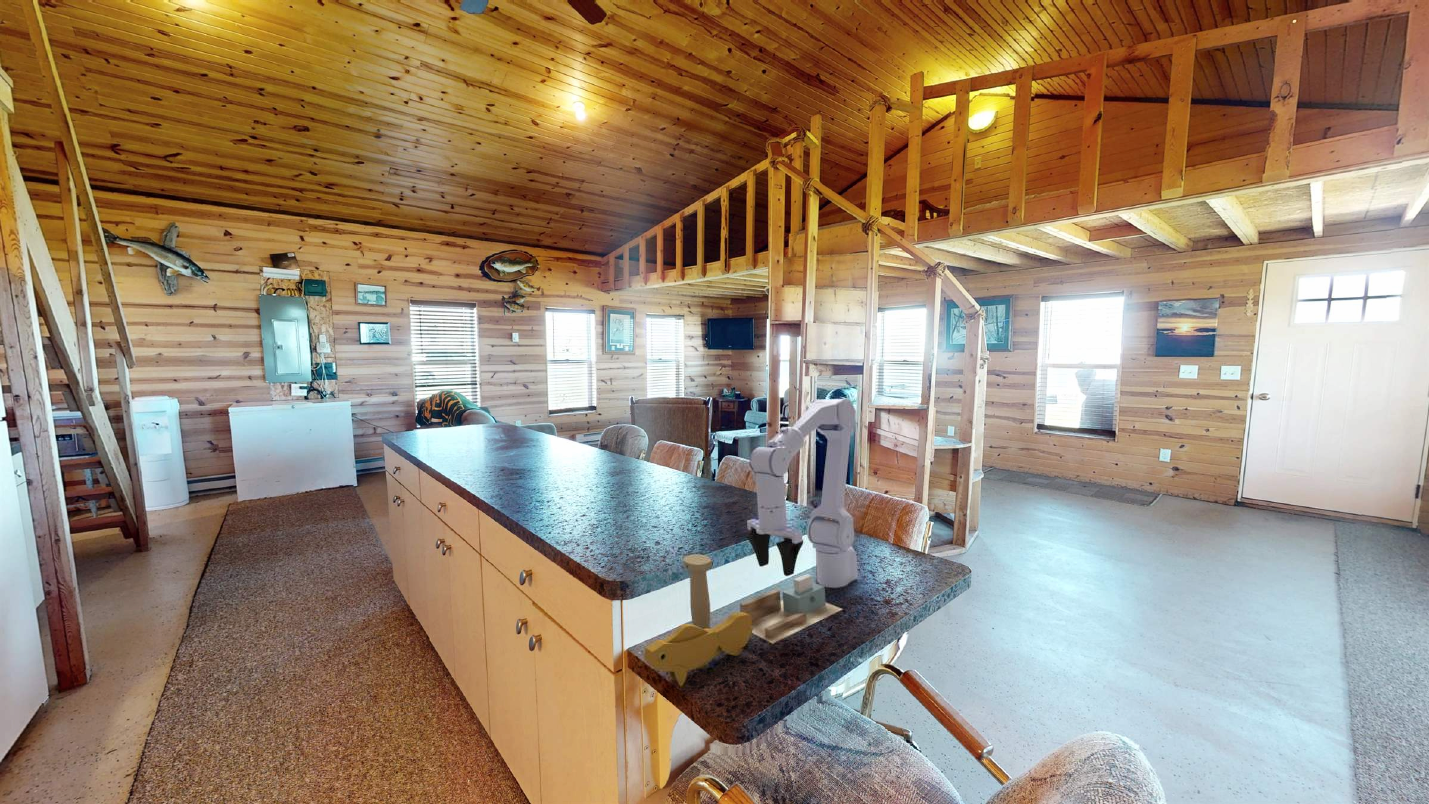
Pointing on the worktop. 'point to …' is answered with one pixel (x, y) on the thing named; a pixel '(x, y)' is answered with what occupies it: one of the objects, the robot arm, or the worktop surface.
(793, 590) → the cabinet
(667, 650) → the decorative fish
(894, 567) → the worktop surface
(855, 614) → the worktop surface
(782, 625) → the cleat board
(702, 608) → the handle
